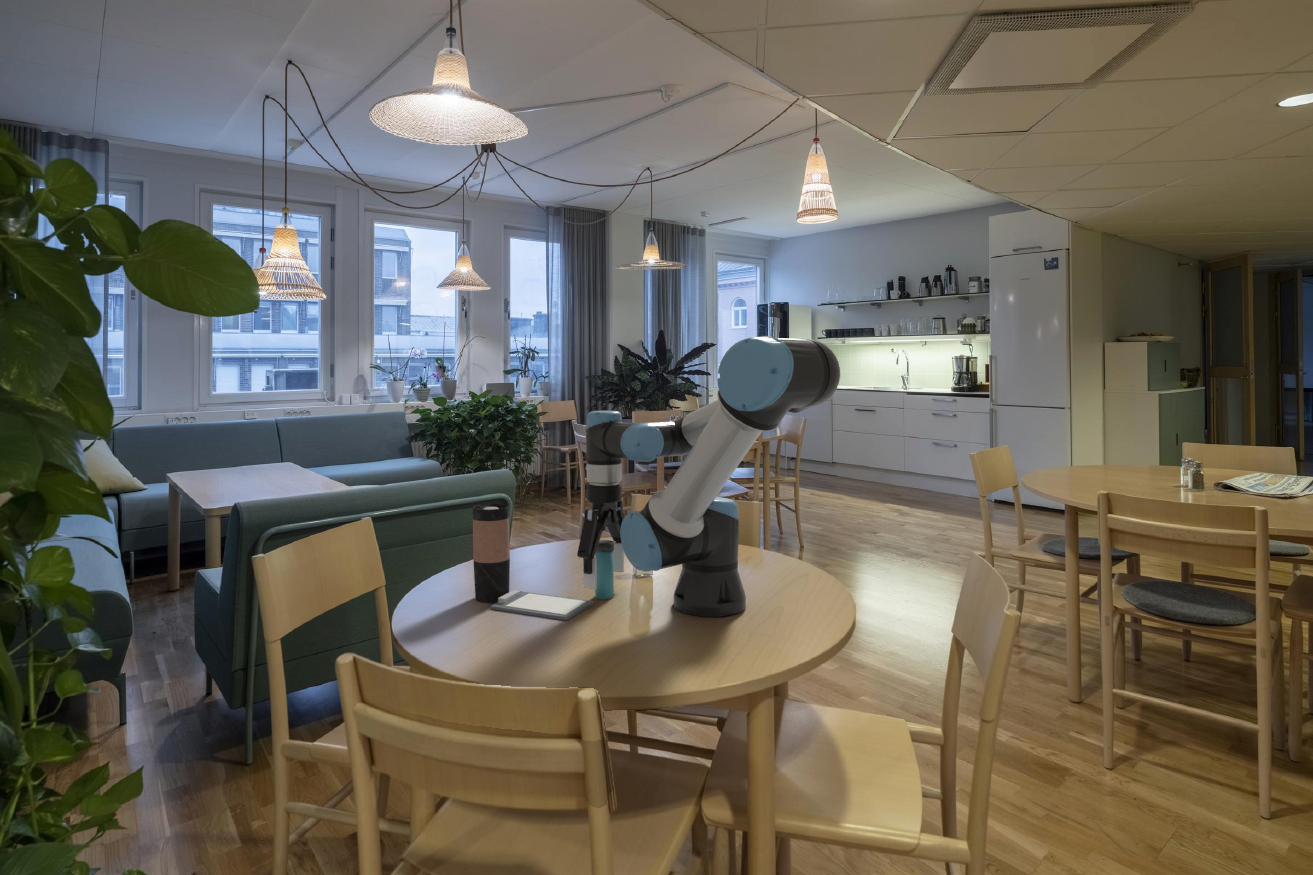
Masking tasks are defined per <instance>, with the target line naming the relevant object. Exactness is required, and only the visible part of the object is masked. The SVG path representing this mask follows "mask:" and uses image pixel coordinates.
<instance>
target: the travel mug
mask: <svg viewBox="0 0 1313 875" xmlns="http://www.w3.org/2000/svg"><path fill="white" fill-rule="evenodd" d="M509 510H510V509H509V505H508V504H504V503H497V502H496V503H493V502H492V503H490V504H488V505H487V506H481V505H480V504H476V505H474V506H473V507H472V541H473V542H472V548H473V549H472V552H473V553H472V554H473V558H472V559H473V579H474V580H473V582H474V594H475V600H476V602H479V603H485V604H496V603H498V598H499V597H501V596H503V595H505V594H507V593H509V592H510V577H511V576H510V572H511V571H510V568H511V567H510V566H511V565H510V562H511V554H510V553H511V548H510V547H511V546H510V545H511V544H510V523H509V522H510V512H509Z"/></svg>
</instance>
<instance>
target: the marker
mask: <svg viewBox="0 0 1313 875" xmlns="http://www.w3.org/2000/svg"><path fill="white" fill-rule="evenodd" d="M594 558H597V588H596V589H594V592H595V593H594V596H595V598H596V599H597V600H610V599H611V600H612V598H614V596H615V595H614V594H615V593H614V592H615V590H614V589H615V588H614V586H615V585H614V580H615V579H614V577H615V576H614V541H613V540H609V539H600V540H599V544H598V547H597V550H596V553H595V556H594Z"/></svg>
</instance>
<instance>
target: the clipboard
mask: <svg viewBox="0 0 1313 875" xmlns="http://www.w3.org/2000/svg"><path fill="white" fill-rule="evenodd" d="M593 604H594V600H588V599H580V598H575V597H574V598H572V597H565V596H558V595H551V594H543V593H535V592H528V591H521V590H517V589H513V590H510V591H509V593H507V594H505V595H503V596H501V597H499V598H498V602H496V603H493V604H492V605H490V610H496V611H503V612H509V613H514V614H515V613H517V614H521V615H522V614H523V615H528V616H529V615H530V616H536V617H542V618H549V619H555V620H562V621H563V620H564V621H569V620H571V619H572V618H574V617H575V616H577V615H579V613H582V612H583V611H584V610H586V609H588V608H589V607H591V606H592V605H593Z"/></svg>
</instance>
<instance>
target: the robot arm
mask: <svg viewBox="0 0 1313 875" xmlns="http://www.w3.org/2000/svg"><path fill="white" fill-rule="evenodd" d="M717 369H718V370H717V373H718V374H719V378H717V379H716V380H717V387H718V391H717V399H716V400H714V401H712V402H710V403H708V404H706V405H704V406H701V407H700V408H697V409H696V410H694V411H692V412H689V413H688V414H686V415H684V416H682V417H680V418H677V419H675V420H664V421H644V422H643V421H642V422H623V418H622V413H621V412H620V411H617V410H592V411H590V412H588V413H587V414H586V425H585V426H586V428H585V439H586V440H585V441H586V443H585V446H586V448H585V449H586V456H585V457H586V466H585V471H586V481H587V482H588V483H587V484H586V501H588V502H589V503H592V508H591V509H584V514H583V515H584V516H583V519H584V520H583V526H582V530H581V534H580V537H579V538H580V539H579V542H578V549H577V552H576V553H577V554H576V556H577V557H578V558H582V561H583V566H582V567H583V569H582V570H583V572H582V573H583V576H582V581H583V583H582V584H583V586H582V587H583V589H587V590H588V589H589V590H595V589H596V588H597V558H595V553H596V550H597V547H598V544H599V540H601V538H602V534H603V532H604V531H605V530H606V528H607V530H608V532H609V534H610V536H611V538H612V541H614V572H615V573H624V572H625V560H624V559H625V557H626V559H627V561H628V562H629V563H630V565H632V567H633V568H635V569H637V570H638V571H641V572H644V573H645V572H657V571H660V570H663V569H667V568H672V567H676V566H680V565H681V571H680V574H679V577H678V581H677V583H676V586H675V589H674V592H673V607H674V609H676V610H677V611H679V612H682V613H685V614H688V615H692V616H697V617H709V618H713V617H727V616H732V615H736V614H739V613H741V612H743V611H744V610H745V609H746V605H747V604H746V603H747V595H746V592H745V589H744V586H743V583H742V579H741V576H740V573H739V566H738V565H739V532H740V531H739V530H740V529H739V528H740V518H739V505H738V503H737V502H736V501H735V500H733V499H731V498H726V497H721V496H718V494H719V493H720V492H721V491H722V490H723V488H724V486H725V485H726V483H727V482H728V480H729V479H730V478H731V476H733V473H734V472H735V470H736V469H737V468H738V466H739V465H740V464H741V462H742V461H743V460H744V458H745V456H746V455H747V454H748V452H749V451H750V450H751V448H752V446H753V445H754V444H755V442H757V440H758V438H759V436H760V435H761V434H762V433H767V432H772V431H774V430H775V429H776V428H777V427H778V425H779V424H780V423H781V421H782V420H784V417H785V416H786V415H787V413H789V414H797V413H800V412H803V411H805V410H807V409H811V408H813V407H816V406H820V405H821V404H824V403H825V402H827V401H828V400H829V399H831V397H832V396H833V395H834V394H835V392H836V390H837V389H838V387H839V383H840V379H841V367H840V362H839V360H838V358H837V355H836V354H835V353H834V352H833V350H832V349H831V348H829V346H827V345H826V344H824V343H823V342H821V341H818V340H815V339H810V338H786V337H785V338H782V337H781V338H780V337H779V338H778V337H774V336H770V335H760V336H755V337H747V338H743V339H741V340H739V341H737V342H735V343H734V344H733V345H731V346H730V347H729V348H728V350H727V351H726V352H725V353H724V354H723V356H722V358H721V359H720V362H719V366H718V368H717ZM676 456H678V457H679V456H686V457H685V458H684V460H683V461H682V463H681V464H680V466H679V468H678V469H677V470H676V473H674V475H673V477H672V478H671V480H670V481H669V482H668V484H667V486H666V487H665V489H661V490H657V491H656V492H654V493H653V494H652V495H651V496H650V498H649V499H648V500H647V502H646V504H645V506H644V507H643V509H641V510H639V511H638V510H633V511H631V512H630V513H629V512H628V513H627V514H626V515H625V513H624V507H623V506H624V504H623V500H622V496H623V494H622V491H623V490H622V484H621V483H620V482H621V481H622V480H623V470H622V469H623V468H622V465H623V464H622V463H623V462H622V461H623V460H622V459H625V460H630V461H634V462H636V463H637V462H638V463H640V462H646V463H647V462H648V463H649V462H652V461H654V460H656V459H659V458H666V457H676ZM624 555H625V556H624Z"/></svg>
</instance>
